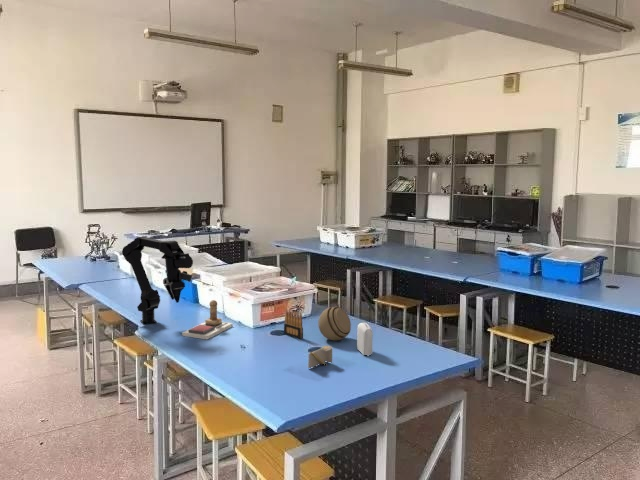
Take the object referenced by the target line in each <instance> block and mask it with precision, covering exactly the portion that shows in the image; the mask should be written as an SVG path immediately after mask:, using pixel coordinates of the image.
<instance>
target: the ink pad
mask: <svg viewBox="0 0 640 480" xmlns="http://www.w3.org/2000/svg"><path fill="white" fill-rule="evenodd" d="M195 326H196V327H195ZM195 326H194V328H193V327H191V328H192V329H191V328H188V330H189V333H195V334H202V335H204V334H206V333H208V332H210V331H212V330H214V329H215V327H213V326H206V325H200V324H198V326H197V325H195Z"/></svg>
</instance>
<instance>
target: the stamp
mask: <svg viewBox="0 0 640 480" xmlns="http://www.w3.org/2000/svg"><path fill="white" fill-rule="evenodd" d="M204 322H205V325H206V326H213V327H216V326H218V325H220V324H222V322H223V319H222V318H220V317H218V302H217V300H215V299H212V300H211V301H210V302H209V318H207V319H205V320H204Z"/></svg>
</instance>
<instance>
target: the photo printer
mask: <svg viewBox="0 0 640 480" xmlns="http://www.w3.org/2000/svg"><path fill="white" fill-rule="evenodd" d="M356 327H357V330H356V332H357V335H356V338H357V339H356V349H357V351H358V350H359V351H360V352H361V353H362V354H361V353H360V352H359V351H358V352H359V353H360V354H361V355H363V356H364V355H371V354H372V355H373V341H374V339H373V338H374V337H373V336H374V334H373V333H374V332H373V329H372V327H371V326H370V325H369V324H368V323H367V322H360V323H359V324H358V325H357V326H356ZM372 355H371V356H372Z"/></svg>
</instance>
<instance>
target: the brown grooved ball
mask: <svg viewBox="0 0 640 480" xmlns="http://www.w3.org/2000/svg"><path fill="white" fill-rule="evenodd" d="M351 325H352V323H351V318H350V317H349V314H348V313H347V312H346V311H345V310H344V309H343V308H341V307H340V306H330V307H326V309H324V310H323V311H322V312H321V313H320V316H319V318H318V329H319V331H320V333H321V335H322V336H323V337H324V338H326V339H327V340H330V341H334V342H335V341H341V340H343V339H345V338H346V337H348V335H349V334H350V333H351V329H352V326H351Z"/></svg>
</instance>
